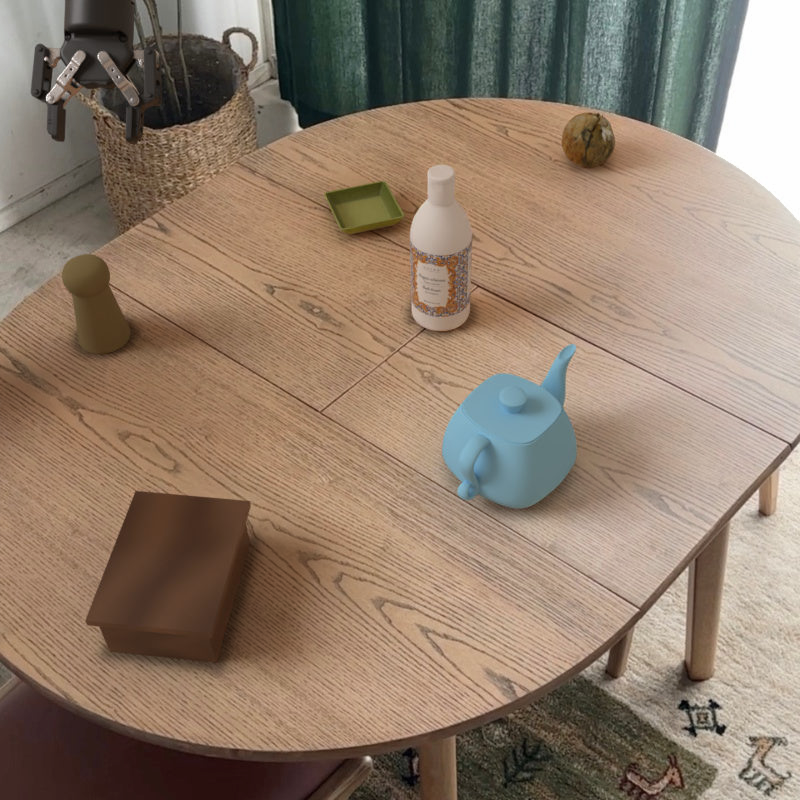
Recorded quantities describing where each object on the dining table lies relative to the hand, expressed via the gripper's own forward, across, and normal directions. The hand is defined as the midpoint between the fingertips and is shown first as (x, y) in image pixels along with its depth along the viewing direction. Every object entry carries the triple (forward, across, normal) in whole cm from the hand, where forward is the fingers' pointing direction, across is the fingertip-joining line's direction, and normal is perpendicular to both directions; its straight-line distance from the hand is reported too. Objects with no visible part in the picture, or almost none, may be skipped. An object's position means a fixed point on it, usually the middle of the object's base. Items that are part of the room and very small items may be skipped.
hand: (94, 141), depth 119 cm
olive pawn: (+22, 0, +6) cm, 23 cm away
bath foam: (+17, +39, +10) cm, 44 cm away
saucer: (+4, +28, +24) cm, 37 cm away
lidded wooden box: (+46, +18, -19) cm, 53 cm away
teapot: (+33, +48, -5) cm, 59 cm away
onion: (-6, +57, +34) cm, 67 cm away
